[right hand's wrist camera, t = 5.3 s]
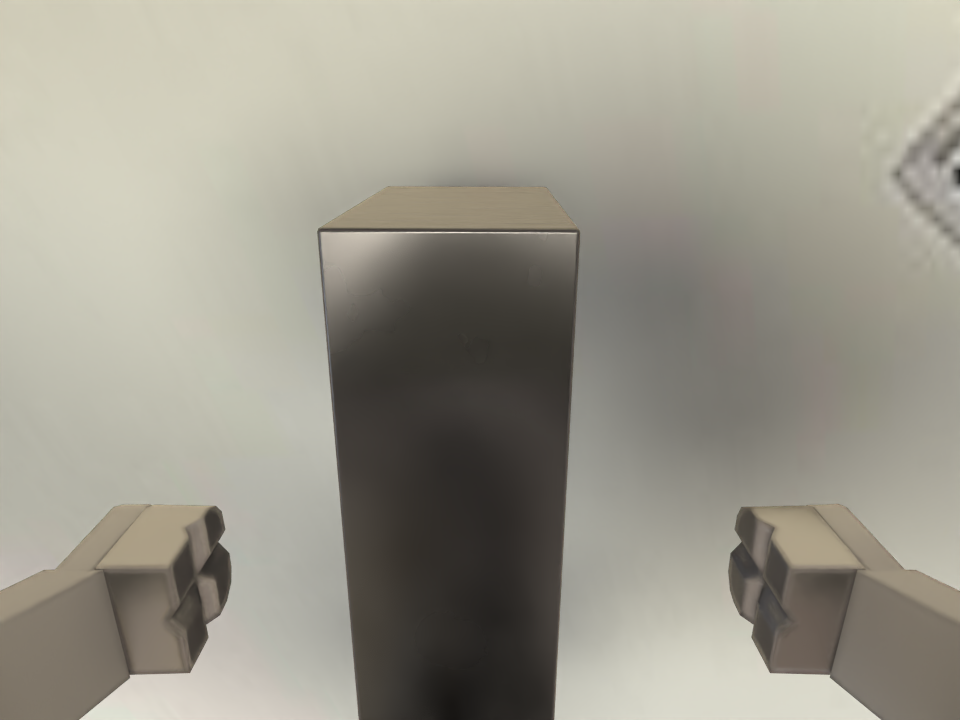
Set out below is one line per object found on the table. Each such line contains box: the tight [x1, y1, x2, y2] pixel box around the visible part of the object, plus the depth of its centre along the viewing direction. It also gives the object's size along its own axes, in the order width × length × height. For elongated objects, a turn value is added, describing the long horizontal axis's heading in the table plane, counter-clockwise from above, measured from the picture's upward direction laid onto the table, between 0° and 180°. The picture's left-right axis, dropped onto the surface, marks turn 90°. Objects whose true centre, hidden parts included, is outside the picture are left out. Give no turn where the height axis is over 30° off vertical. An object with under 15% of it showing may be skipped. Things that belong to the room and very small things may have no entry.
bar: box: [317, 186, 580, 720], centre depth 20 cm, size 27×5×8 cm, turn 0°
